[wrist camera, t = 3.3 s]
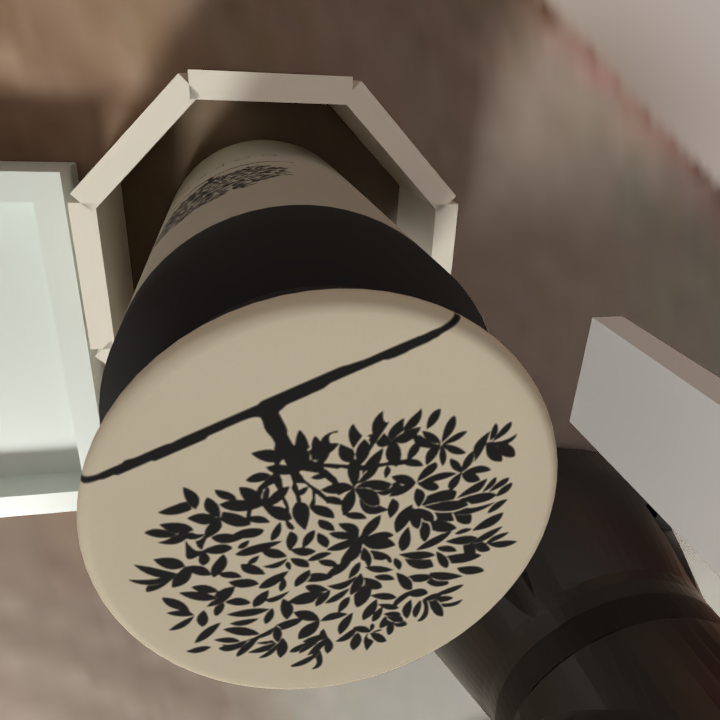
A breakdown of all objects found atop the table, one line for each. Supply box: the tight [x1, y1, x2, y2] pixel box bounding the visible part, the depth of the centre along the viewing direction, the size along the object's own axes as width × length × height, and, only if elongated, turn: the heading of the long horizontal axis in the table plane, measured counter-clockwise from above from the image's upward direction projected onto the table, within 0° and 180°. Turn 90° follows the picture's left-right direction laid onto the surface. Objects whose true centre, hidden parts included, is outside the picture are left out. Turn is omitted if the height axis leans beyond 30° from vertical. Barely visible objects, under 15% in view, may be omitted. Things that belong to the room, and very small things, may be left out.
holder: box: [67, 69, 458, 364], centre depth 23 cm, size 13×13×5 cm
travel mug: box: [77, 140, 558, 689], centre depth 17 cm, size 8×8×18 cm
